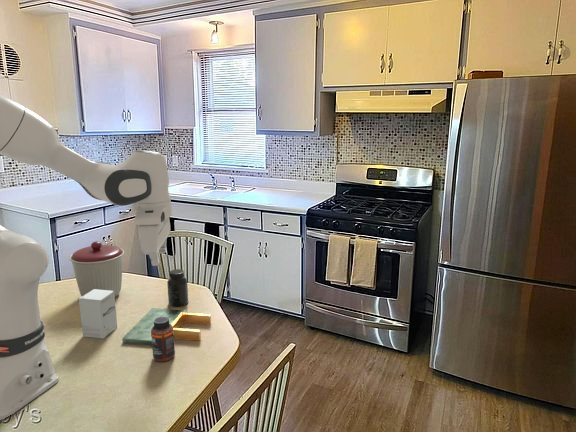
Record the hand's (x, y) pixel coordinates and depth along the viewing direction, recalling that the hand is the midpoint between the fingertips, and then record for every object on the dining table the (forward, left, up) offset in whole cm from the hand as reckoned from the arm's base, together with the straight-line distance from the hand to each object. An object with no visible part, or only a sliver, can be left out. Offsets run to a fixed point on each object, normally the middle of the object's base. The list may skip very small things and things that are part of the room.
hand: (159, 258), depth 117 cm
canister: (+28, +37, -27) cm, 54 cm away
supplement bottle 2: (+27, +7, -27) cm, 39 cm away
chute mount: (+9, +2, -27) cm, 28 cm away
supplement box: (+4, +23, -27) cm, 36 cm away
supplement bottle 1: (-6, -2, -27) cm, 28 cm away
